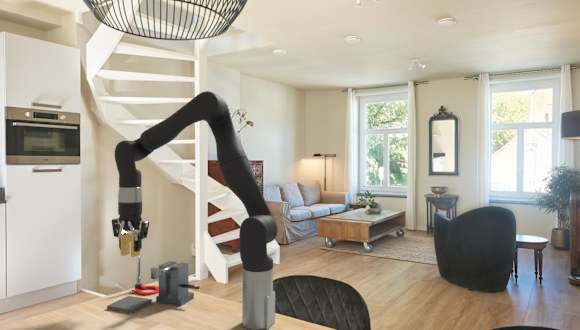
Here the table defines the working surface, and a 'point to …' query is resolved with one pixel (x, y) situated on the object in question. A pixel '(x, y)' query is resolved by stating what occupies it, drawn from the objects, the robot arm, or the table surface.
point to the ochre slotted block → (128, 245)
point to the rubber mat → (129, 304)
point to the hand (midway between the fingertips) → (130, 250)
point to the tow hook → (140, 286)
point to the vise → (173, 283)
